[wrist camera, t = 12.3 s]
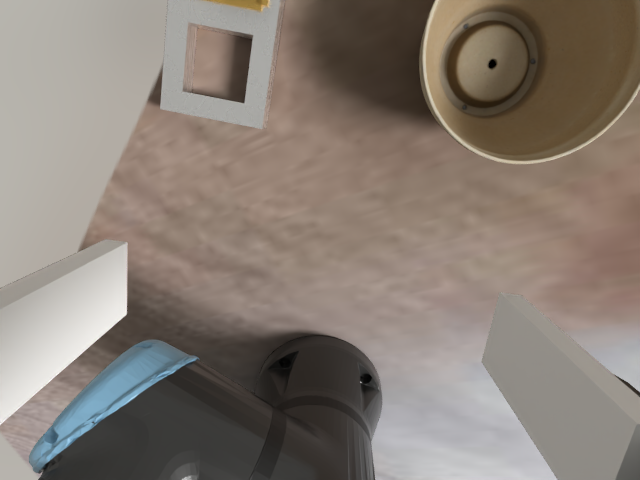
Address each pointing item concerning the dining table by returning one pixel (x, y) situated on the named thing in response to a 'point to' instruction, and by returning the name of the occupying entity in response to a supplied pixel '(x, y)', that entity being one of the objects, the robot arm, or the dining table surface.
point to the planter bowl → (529, 73)
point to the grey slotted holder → (229, 18)
